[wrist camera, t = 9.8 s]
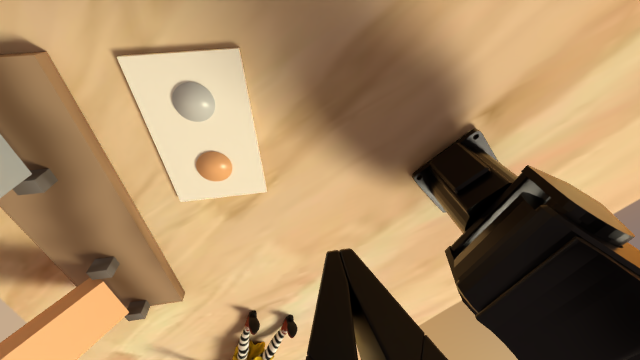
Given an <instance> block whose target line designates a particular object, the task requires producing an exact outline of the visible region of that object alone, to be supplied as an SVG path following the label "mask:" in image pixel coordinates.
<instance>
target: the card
mask: <svg viewBox="0 0 640 360" xmlns="http://www.w3.org/2000/svg"><path fill="white" fill-rule="evenodd" d="M117 59H118V61H119V64H120V66H121V68H122V70H123V73H124V75H125V77H126V80H127V82H128V84H129V86H130V89H131V91H132V93H133V95H134V98H135V100H136V102H137V104H138V107H139V109H140V111H141V113H142V116H143V118H144V120H145V123H146V125H147V127H148V129H149V132H150V134H151V136H152V138H153V141H154V143H155V145H156V147H157V150H158V152H159V154H160V157H161V159H162V161H163V163H164V166H165V168H166V170H167V172H168V175H169V177H170V179H171V181H172V184H173V186H174V188H175V190H176V193H177V195H178V197H179V200H180V202H185V201H194V200H202V199H211V198H220V197H228V196H237V195H245V194H254V193H263V192H267V187H266V182H265V176H264V171H263V166H262V161H261V156H260V151H259V146H258V140H257V135H256V130H255V125H254V120H253V115H252V109H251V104H250V99H249V94H248V89H247V84H246V78H245V73H244V68H243V63H242V58H241V53H240V47H239V48H224V49H210V50H195V51H180V52H165V53H151V54H136V55H121V56H118V57H117Z"/></svg>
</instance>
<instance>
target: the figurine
mask: <svg viewBox="0 0 640 360" xmlns="http://www.w3.org/2000/svg"><path fill="white" fill-rule="evenodd" d="M259 327H260V323H259V321H258V319H257V314H256V311H254V310H253V311H252V312H250V313H249V315H248V318H247V321H246V324H245V328H244V330H243V332H242V334H241V337H240V339H239V344H238V346H236V348H235V353H234V355H233V359H232V360H272V359H273V357H274V354H275V352H276V350H277V349H278V347H279V345H280V343H281V341H282V339H283V337H284V336H285V334H286V333H287V332H288V335H289V336H290V338H293V337H294V336H295V335H296V332H297V326H296V324H295V323H294V321H293V315H289V316H287V317H286V319H285V321H284V323H283V325H282V327H281V329H280V330H279V331H278V332H277V333H276V335H275V336H274V337H273V339H272V340H271V342H270V343H269V345H268V347H267V349H266V350H264V347H265V342H262V343H257V344H256V345H254V344H253V342H252V341H249V335H250V332H251V334H253V335H254V334H256V333H257V331H258V330H259Z"/></svg>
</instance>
